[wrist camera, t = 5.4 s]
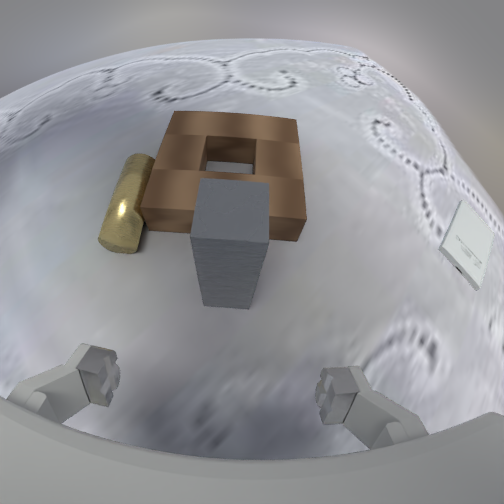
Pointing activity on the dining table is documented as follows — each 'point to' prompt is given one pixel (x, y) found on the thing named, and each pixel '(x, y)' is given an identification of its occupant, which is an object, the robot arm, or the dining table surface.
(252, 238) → the square bit
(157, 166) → the socket block
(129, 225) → the round bit
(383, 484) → the robot arm
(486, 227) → the external hard drive
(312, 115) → the dining table surface
